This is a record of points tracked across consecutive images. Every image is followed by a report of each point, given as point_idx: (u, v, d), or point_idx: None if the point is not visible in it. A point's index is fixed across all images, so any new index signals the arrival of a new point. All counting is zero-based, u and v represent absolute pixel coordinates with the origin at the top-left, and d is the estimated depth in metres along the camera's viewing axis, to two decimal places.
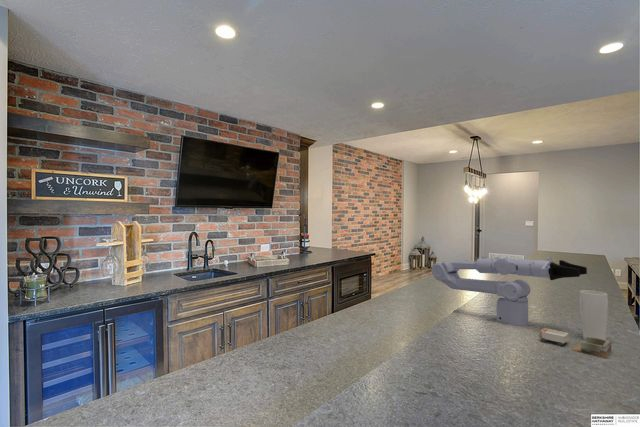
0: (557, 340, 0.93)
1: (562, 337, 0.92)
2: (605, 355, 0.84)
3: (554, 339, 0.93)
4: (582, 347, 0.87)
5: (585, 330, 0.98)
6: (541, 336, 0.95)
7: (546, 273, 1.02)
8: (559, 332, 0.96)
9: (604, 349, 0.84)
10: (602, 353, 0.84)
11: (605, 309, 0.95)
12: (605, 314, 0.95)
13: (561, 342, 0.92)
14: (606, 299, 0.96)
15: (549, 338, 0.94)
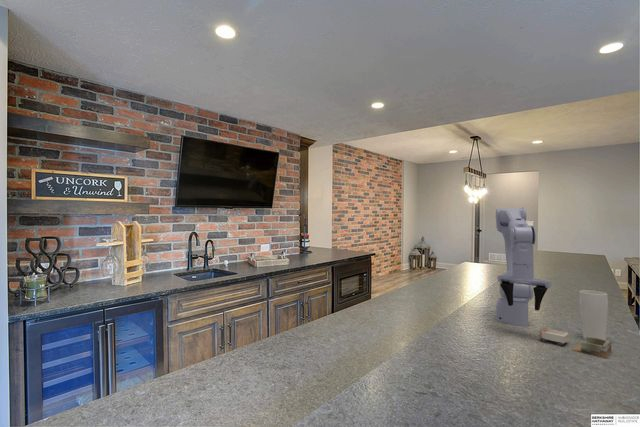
0: (557, 340, 0.93)
1: (562, 337, 0.92)
2: (605, 355, 0.84)
3: (554, 339, 0.93)
4: (582, 347, 0.87)
5: (585, 330, 0.98)
6: (541, 336, 0.95)
7: None
8: (559, 332, 0.96)
9: (604, 349, 0.84)
10: (602, 353, 0.84)
11: (605, 309, 0.95)
12: (605, 314, 0.95)
13: (561, 342, 0.92)
14: (606, 299, 0.96)
15: (549, 338, 0.94)
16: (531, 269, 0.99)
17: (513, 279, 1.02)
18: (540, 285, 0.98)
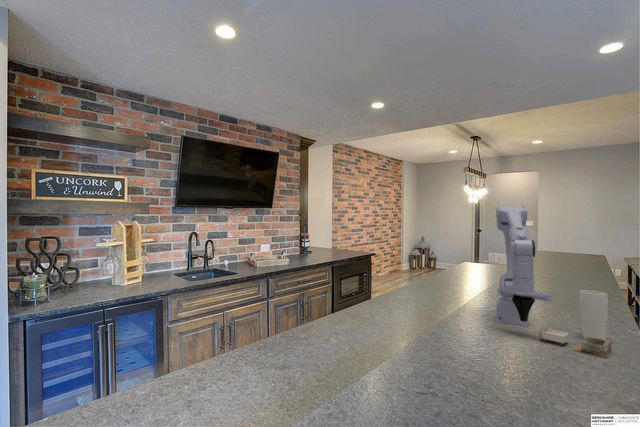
0: (557, 340, 0.93)
1: (562, 337, 0.92)
2: (605, 355, 0.84)
3: (554, 339, 0.93)
4: (582, 347, 0.87)
5: (585, 330, 0.98)
6: (541, 336, 0.95)
7: None
8: (559, 332, 0.96)
9: (604, 349, 0.84)
10: (602, 353, 0.84)
11: (605, 309, 0.95)
12: (605, 314, 0.95)
13: (561, 342, 0.92)
14: (606, 299, 0.96)
15: (549, 338, 0.94)
16: (531, 282, 0.99)
17: (513, 292, 1.02)
18: (540, 299, 0.98)
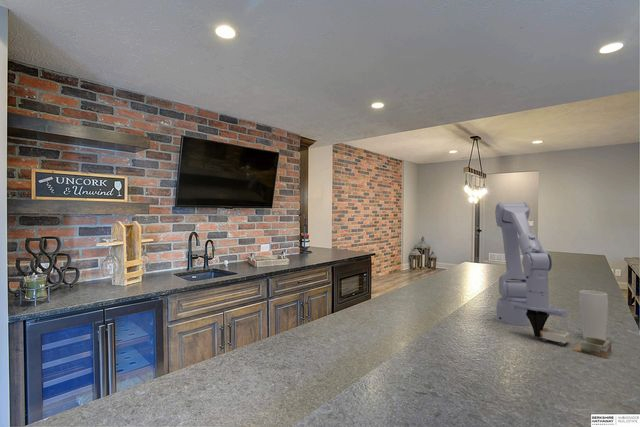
0: (558, 340, 0.92)
1: (563, 337, 0.91)
2: (605, 355, 0.84)
3: (555, 339, 0.93)
4: (582, 347, 0.87)
5: (585, 330, 0.98)
6: (542, 336, 0.95)
7: None
8: (560, 332, 0.96)
9: (604, 349, 0.84)
10: (602, 353, 0.84)
11: (605, 309, 0.95)
12: (605, 314, 0.95)
13: (562, 342, 0.92)
14: (606, 299, 0.96)
15: (550, 338, 0.94)
16: (546, 297, 0.96)
17: (527, 307, 0.98)
18: (556, 314, 0.95)
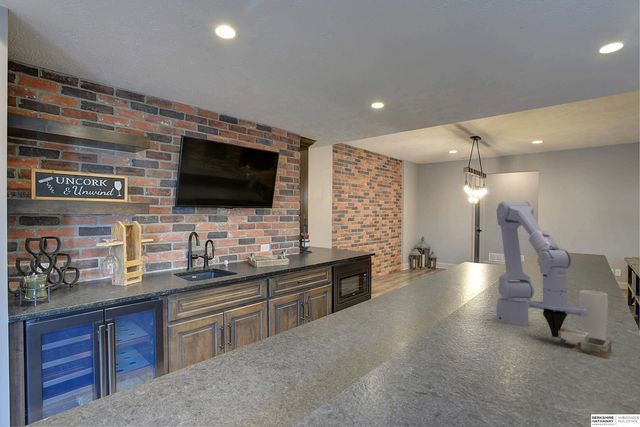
0: (577, 340, 0.89)
1: (583, 337, 0.88)
2: (605, 355, 0.84)
3: (574, 339, 0.90)
4: (582, 347, 0.87)
5: (585, 330, 0.98)
6: (560, 336, 0.92)
7: None
8: (579, 332, 0.92)
9: (604, 349, 0.84)
10: (602, 353, 0.84)
11: (605, 309, 0.95)
12: (605, 314, 0.95)
13: None
14: (606, 299, 0.96)
15: (569, 338, 0.90)
16: (564, 296, 0.93)
17: (544, 306, 0.95)
18: (574, 313, 0.91)
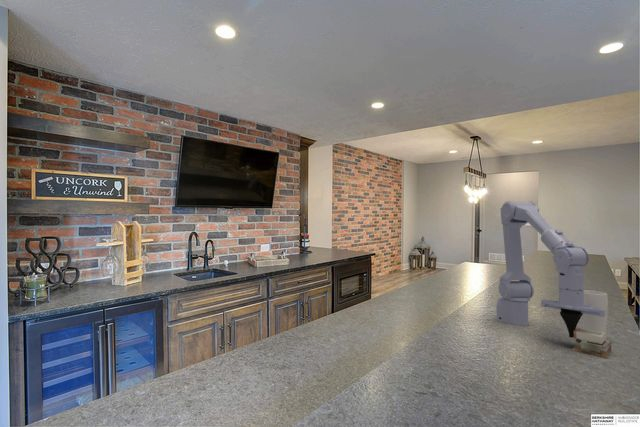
0: (594, 341, 0.86)
1: (600, 337, 0.85)
2: (605, 355, 0.84)
3: (590, 340, 0.87)
4: (582, 347, 0.87)
5: None
6: (575, 336, 0.89)
7: None
8: (595, 332, 0.90)
9: (604, 349, 0.84)
10: (602, 353, 0.84)
11: (605, 309, 0.95)
12: (605, 314, 0.95)
13: (598, 343, 0.86)
14: (606, 299, 0.96)
15: (585, 338, 0.88)
16: (582, 295, 0.90)
17: (560, 305, 0.92)
18: (592, 313, 0.88)
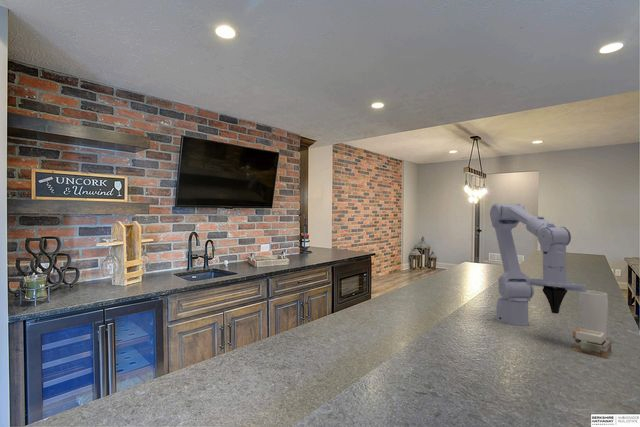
0: (593, 341, 0.86)
1: (599, 337, 0.86)
2: (605, 355, 0.84)
3: (590, 340, 0.87)
4: (582, 347, 0.87)
5: None
6: (575, 336, 0.89)
7: None
8: (594, 332, 0.90)
9: (604, 349, 0.84)
10: (602, 353, 0.84)
11: (605, 309, 0.95)
12: (605, 314, 0.95)
13: (598, 343, 0.86)
14: (606, 299, 0.96)
15: (584, 338, 0.88)
16: (564, 272, 0.94)
17: (544, 283, 0.96)
18: (574, 289, 0.92)
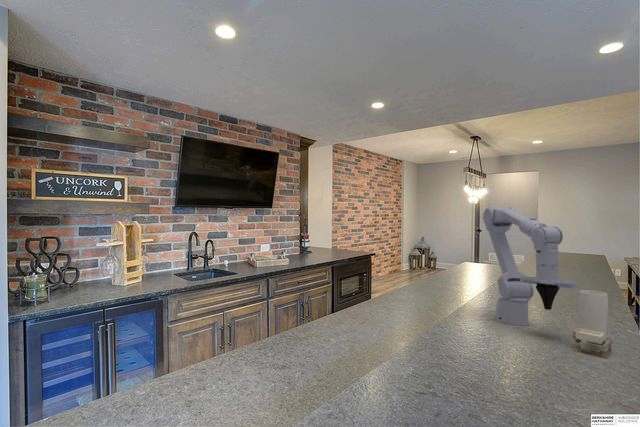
0: (593, 341, 0.86)
1: (599, 337, 0.86)
2: (605, 355, 0.84)
3: (590, 340, 0.87)
4: (582, 347, 0.87)
5: None
6: (575, 336, 0.89)
7: None
8: (594, 332, 0.90)
9: (604, 349, 0.84)
10: (602, 353, 0.84)
11: (605, 309, 0.95)
12: (605, 314, 0.95)
13: (598, 343, 0.86)
14: (606, 299, 0.96)
15: (584, 338, 0.88)
16: (556, 270, 0.98)
17: (537, 280, 1.00)
18: (566, 286, 0.96)
